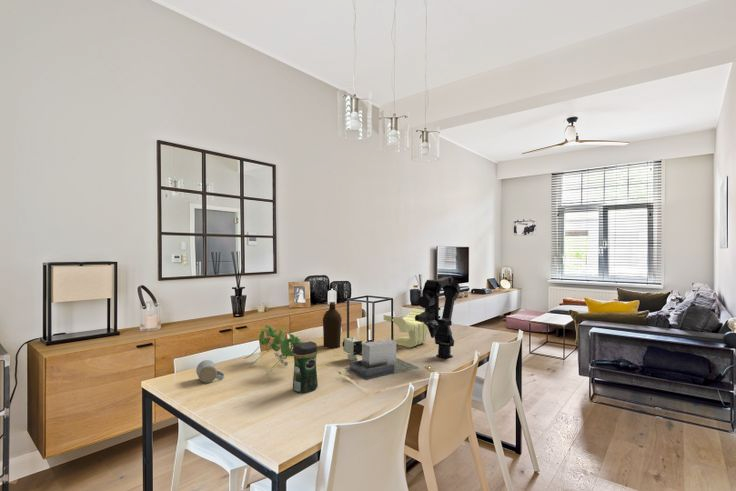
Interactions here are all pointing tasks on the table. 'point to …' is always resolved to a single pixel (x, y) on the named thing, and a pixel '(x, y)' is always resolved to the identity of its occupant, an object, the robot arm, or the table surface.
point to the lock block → (378, 353)
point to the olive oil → (332, 327)
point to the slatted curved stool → (410, 329)
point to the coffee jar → (305, 367)
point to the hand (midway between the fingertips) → (432, 337)
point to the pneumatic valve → (352, 347)
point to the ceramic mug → (208, 371)
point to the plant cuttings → (283, 343)
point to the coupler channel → (379, 369)
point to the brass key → (429, 368)
